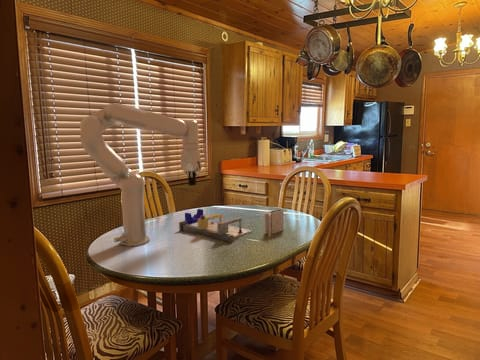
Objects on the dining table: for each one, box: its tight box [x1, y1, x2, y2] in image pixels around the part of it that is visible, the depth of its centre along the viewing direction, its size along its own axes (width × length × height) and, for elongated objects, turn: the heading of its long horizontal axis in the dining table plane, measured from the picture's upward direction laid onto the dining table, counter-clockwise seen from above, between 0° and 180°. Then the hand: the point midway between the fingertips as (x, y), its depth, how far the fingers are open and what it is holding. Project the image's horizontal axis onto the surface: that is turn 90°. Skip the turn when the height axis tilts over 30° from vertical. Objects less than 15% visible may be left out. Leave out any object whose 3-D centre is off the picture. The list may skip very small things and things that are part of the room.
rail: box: [178, 220, 234, 244], centre depth 171 cm, size 4×33×4 cm, turn 49°
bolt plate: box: [195, 221, 253, 239], centre depth 180 cm, size 12×28×1 cm, turn 49°
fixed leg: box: [216, 217, 243, 235], centre depth 167 cm, size 15×2×7 cm, turn 139°
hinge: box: [264, 209, 284, 237], centre depth 174 cm, size 14×5×10 cm, turn 143°
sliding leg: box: [197, 213, 223, 230], centre depth 175 cm, size 15×2×8 cm, turn 139°
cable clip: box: [184, 208, 204, 225], centre depth 198 cm, size 12×4×6 cm, turn 148°
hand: (192, 185), depth 174 cm, fingers closed
